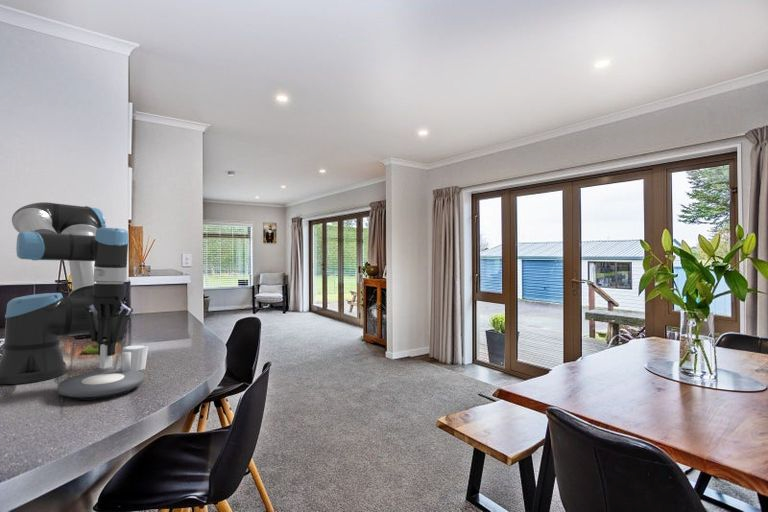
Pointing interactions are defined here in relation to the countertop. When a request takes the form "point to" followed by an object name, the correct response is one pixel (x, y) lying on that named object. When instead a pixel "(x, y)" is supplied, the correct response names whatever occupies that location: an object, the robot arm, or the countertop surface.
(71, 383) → the disc
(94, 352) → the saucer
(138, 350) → the white cup
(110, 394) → the base
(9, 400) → the countertop surface
